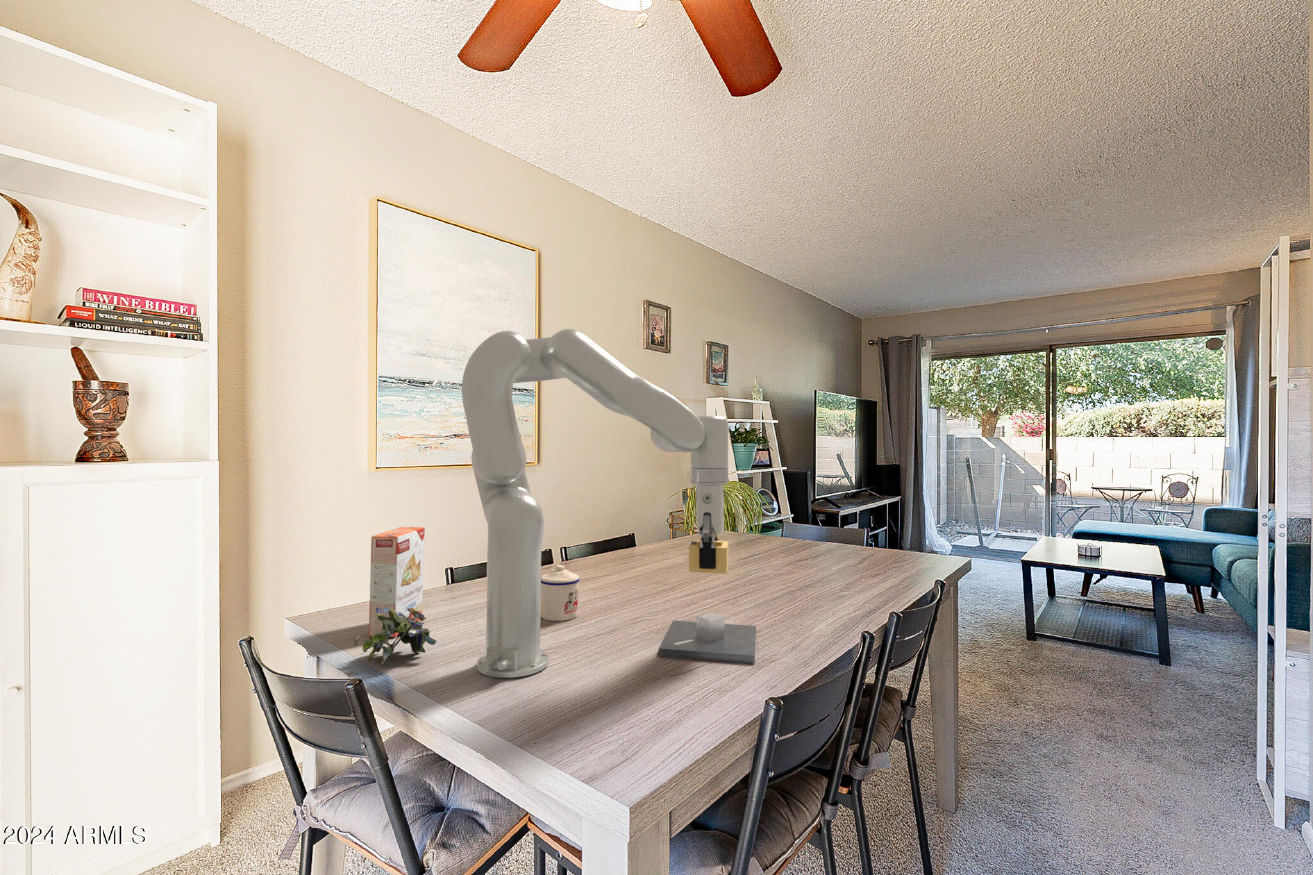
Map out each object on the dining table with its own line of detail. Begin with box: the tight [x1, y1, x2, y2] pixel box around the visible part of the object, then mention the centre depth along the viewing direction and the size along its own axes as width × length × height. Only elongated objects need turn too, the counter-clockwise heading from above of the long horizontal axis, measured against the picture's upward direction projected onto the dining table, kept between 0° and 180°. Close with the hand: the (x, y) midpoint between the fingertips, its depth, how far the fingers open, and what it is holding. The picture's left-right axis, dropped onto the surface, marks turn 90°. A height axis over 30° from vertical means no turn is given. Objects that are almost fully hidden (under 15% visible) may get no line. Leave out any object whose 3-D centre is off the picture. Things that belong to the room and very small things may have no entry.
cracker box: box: [368, 526, 426, 638], centre depth 129 cm, size 14×6×21 cm, turn 179°
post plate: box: [658, 612, 757, 665], centre depth 121 cm, size 18×18×6 cm
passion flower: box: [353, 608, 437, 666], centre depth 111 cm, size 11×11×12 cm
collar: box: [688, 539, 730, 574], centre depth 122 cm, size 7×7×5 cm
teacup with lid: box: [540, 564, 580, 622], centre depth 141 cm, size 12×9×12 cm
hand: (709, 563), depth 122 cm, fingers closed on collar, 7 cm apart
